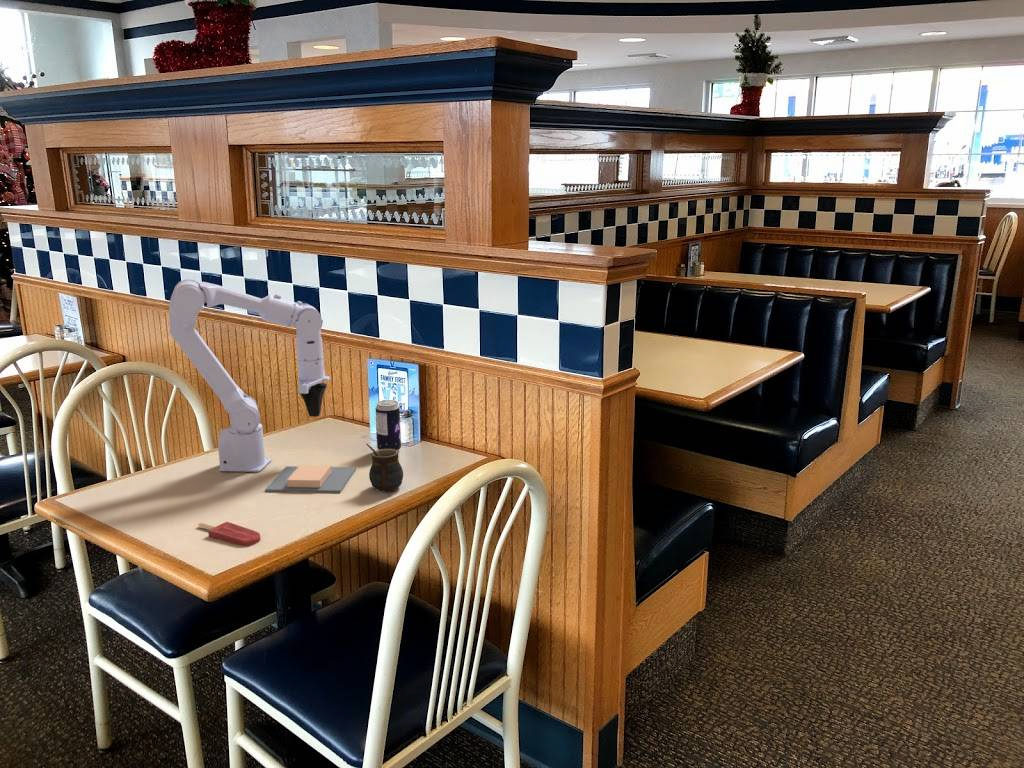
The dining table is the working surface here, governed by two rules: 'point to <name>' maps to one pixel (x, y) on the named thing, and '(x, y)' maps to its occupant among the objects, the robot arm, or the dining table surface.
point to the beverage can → (388, 425)
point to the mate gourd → (385, 470)
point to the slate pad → (331, 485)
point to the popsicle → (233, 533)
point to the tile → (309, 476)
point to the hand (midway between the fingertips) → (314, 415)
